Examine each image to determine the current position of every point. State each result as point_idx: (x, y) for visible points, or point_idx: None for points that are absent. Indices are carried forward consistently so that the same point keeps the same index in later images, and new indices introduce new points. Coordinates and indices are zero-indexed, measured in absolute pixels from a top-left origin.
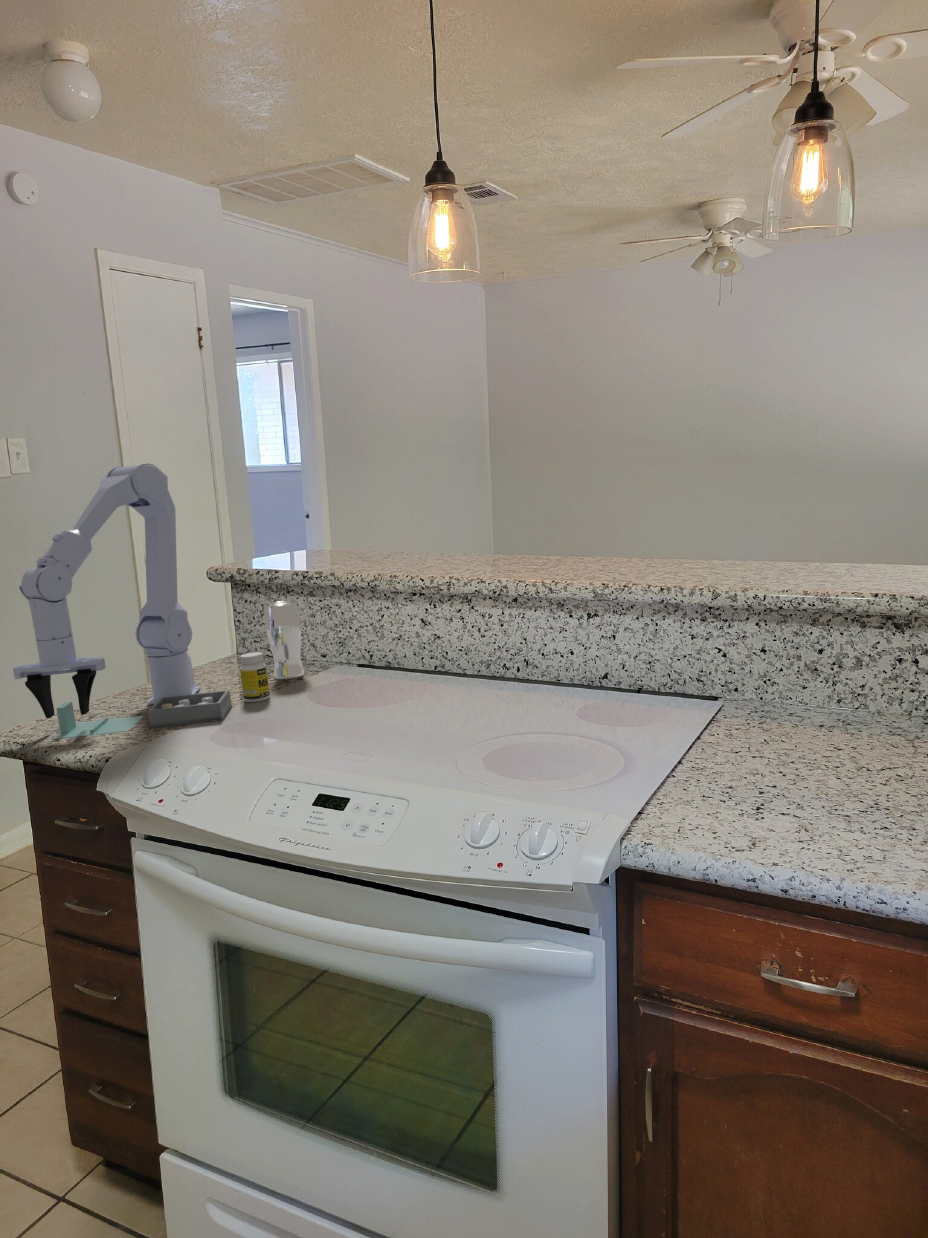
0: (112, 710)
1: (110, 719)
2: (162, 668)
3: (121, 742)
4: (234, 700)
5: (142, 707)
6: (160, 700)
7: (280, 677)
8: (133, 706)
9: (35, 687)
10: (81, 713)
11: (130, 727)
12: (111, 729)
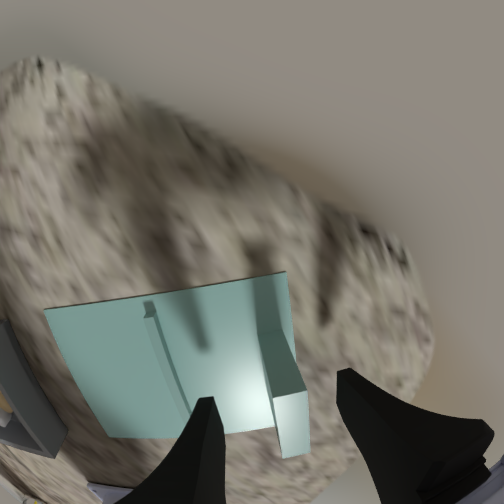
0: (239, 482)
1: None
2: None
3: (5, 189)
4: None
5: None
6: (30, 434)
7: (37, 500)
8: None
9: (437, 437)
10: (209, 398)
11: (60, 344)
12: (107, 341)
